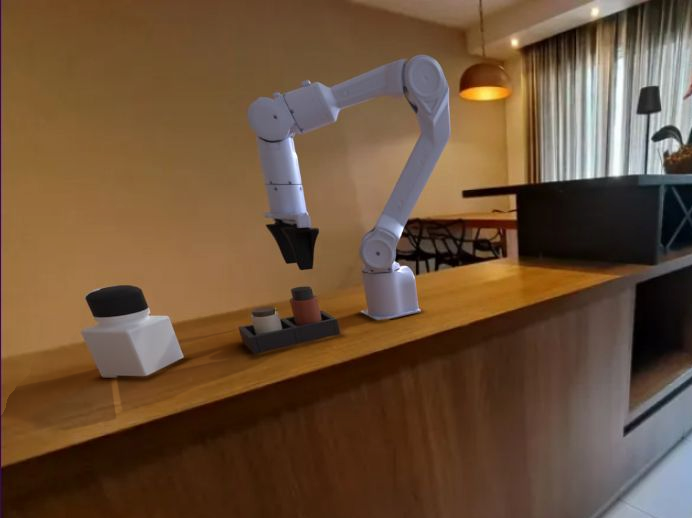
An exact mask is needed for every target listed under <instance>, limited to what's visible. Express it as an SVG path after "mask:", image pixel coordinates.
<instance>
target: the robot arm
mask: <svg viewBox="0 0 692 518" xmlns="http://www.w3.org/2000/svg"><path fill="white" fill-rule="evenodd" d="M407 61H408V58H402V59H398V60H395V61H392V62H389V63H385V64H382V65H381V66H378V67H376V68H374V69H372V70H369V71H366V72H363V73H361V74H360V75H359V74H358V75H357V76H354V77H352V78H350V79H347V80H345V81H342V82H340V83H338V84H335V85H333V86H331V87H329V86H326V85H325V84H322V83H321V82H318V81H315V82H312V83H311V81H310V80H309V79H306V80H303V81H301V82H300V84H301V86H302V87H298V88H296V89H293V90H290V91H287V92H285V93H282V94H281V93H280V92H279V91H276V92H273V93H272V97H273V98H270V97H266V96H260V97H258V98H257V99H256V100H254V101H253V102H251V104H249V107H248V108H247V114H246V115H247V122H248V124H249V127H250V128H251V129H252V131H253V132H254V133H255V134H256V136H255V139H256V145H257V148H258V158H259V162H260V168H261V172H262V178H263V183H264V186H265V192H266V197H267V203H268V206H269V212H263V213H262V216H263V218H270V219H271V220H272V221H273V222H274V223H266V224H265V227H266V228H267V230H268V232H270V234H271V235H272V237H273V238H274V240H275V242H276V245H277V247H278V249H279V251H280V254H281V256H282V258H283V260H284V262H285V264H287V265H289V264H296V265H297V267H298V269H299V271H307V270H313V269H314V257H315V247H316V242H317V238H318V236H319V233H320V228H318V227H312V223H311V217H310V214H309V212H308V211H307V205H306V200H305V199H306V198H305V194H304V193H305V192H304V187H303V182H302V176H301V171H300V164H299V159H298V155H297V153H296V148H295V142H294V137H295V135H296V134H298V135H299V136H300V135H303V134H307V133H310V132H311V131H315V130H317V129H320V128H322V127H325V126H327V125H328V126H329V125H331V124H333V123H336V122H337V120H338V117H339V113H340V111H341V110H344V109H347V108H350V107H353V106H357V105H359V104H362V103H366V102H369V101H372V100H375V99H378V98H381V97H388V98H390V99H393V100H396V101H400V102H402V100H403V96H404V98H405V99H406V101H407V103H408V104H409V106H410V108H411V109H412V110H413V112H414V114H415V117H416V118H415V119H416V121H417V125H418V128H419V131H420V135H419V136H418V138H417V140H416V142H415V144H414V146H413V149H412V151H411V153H410V154H409V156H408V158H407V160H406V162H405V164H404V166H403V168H402V171H401V173H400V175H399V177H398V178H397V181H396V183H395V184H394V187H393V189H392V191H391V192H390V195H389V197H388V199H387V201H386V203H385V204H384V207H383V209H382V211H381V213H380V215H379V217H378V219H377V220H376V222H375V224H374V226H373V227H372V229H370V230H369V231H367V232H366V233H365V234H364V235H363V237H362V239H361V241H360V244H359V249H358V254H359V258H360V261H361V262H362V264H363V265H362V266H361V267H360V270H361V272H360V273H361V279H362V285H363V289H364V296H365V301H366V308H367V309H364V310H361V311H359V312H360V313H361V314H364V315H366V316H368V317H370V318H372V319H373V320H377V321H380V320H384V319H387V320H392V319H396V318H400V317H404V316H408V315H412V314H418V313H421V308H419V302H418V301H419V299H418V291H417V283H416V278H415V275H414V272H413V270H412V269H411V268H410V267H409V266H407V265H401V264H400V263H398V262H397V261H396V256H397V250H396V249H397V245H398V243H399V241H400V238H401V237H402V233H403V231H404V228H405V226H406V224H407V222H408V220H409V219H410V217H411V214H412V212H413V211H414V208H415V207H416V205H417V203H418V200H419V199H420V197H421V195H422V194H423V191H424V189H425V187H426V186H427V183H428V181H429V179H430V177H431V175H432V173H433V171H434V169H435V167H436V166H437V163H438V161H439V160H440V158H441V155H442V154H443V152H444V150H445V147H446V146H447V144H448V142H449V140H450V137H451V120H450V119H451V118H450V88H449V87H450V86H449V85H448V81H447V79H446V77H445V74H444V70H443V68H442V67H441V65H440V64H439V62H438V61H437V60H436V59H435V58H433V57H432V56H429V55H427V54H418V55H415V56H413V57H412V58H410V60H409V61H408V62H407Z"/></svg>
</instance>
